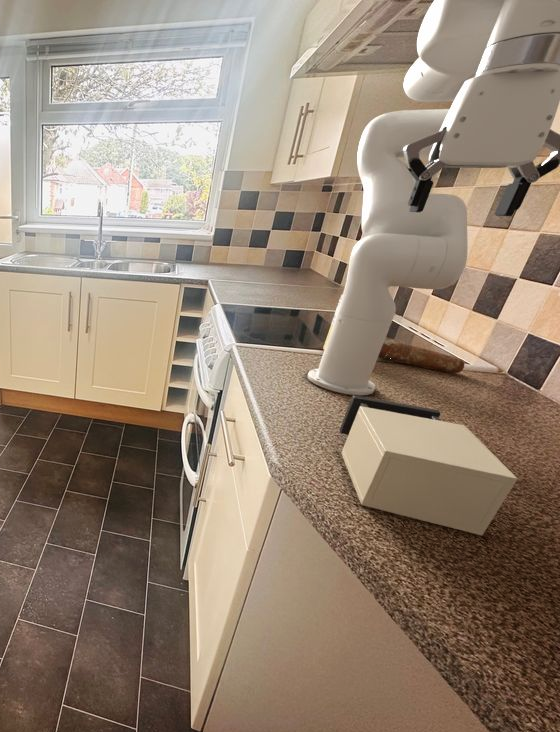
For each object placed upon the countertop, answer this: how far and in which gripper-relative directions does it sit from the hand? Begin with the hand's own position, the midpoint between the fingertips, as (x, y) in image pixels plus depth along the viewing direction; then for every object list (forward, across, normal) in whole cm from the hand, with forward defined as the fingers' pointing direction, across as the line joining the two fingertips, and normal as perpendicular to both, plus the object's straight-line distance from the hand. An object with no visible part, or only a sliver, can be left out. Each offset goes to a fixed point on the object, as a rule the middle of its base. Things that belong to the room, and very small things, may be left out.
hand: (457, 213), depth 58 cm
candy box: (+36, -5, -49) cm, 61 cm away
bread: (+36, -20, -49) cm, 64 cm away
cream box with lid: (+36, -1, +16) cm, 39 cm away
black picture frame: (+35, -1, +7) cm, 36 cm away
